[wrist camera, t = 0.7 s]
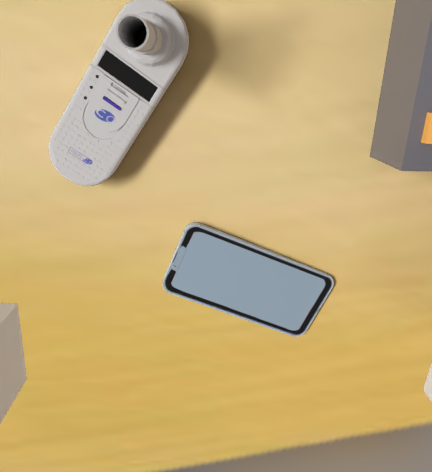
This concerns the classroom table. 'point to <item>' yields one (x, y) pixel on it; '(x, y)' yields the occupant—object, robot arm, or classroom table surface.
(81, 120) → the electronic device
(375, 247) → the classroom table surface
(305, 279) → the smartphone
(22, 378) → the robot arm
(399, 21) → the power strip
